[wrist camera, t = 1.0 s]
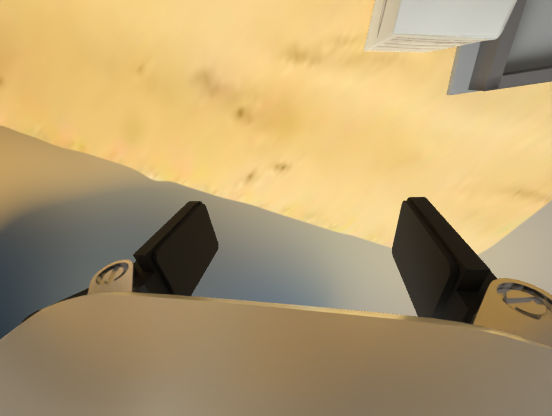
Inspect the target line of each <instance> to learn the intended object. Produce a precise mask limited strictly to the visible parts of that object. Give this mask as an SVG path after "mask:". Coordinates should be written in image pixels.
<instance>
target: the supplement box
mask: <svg viewBox="0 0 552 416" xmlns="http://www.w3.org/2000/svg"><path fill="white" fill-rule="evenodd" d="M516 2H517V0H375V3H374V8H373V12H372V17H371V21H370V26H369V30H368V35H367V39H366V43H365V47H364V51H384V52H418V53H426V52H431V51H437V50H442V49H447V48H452V47H456V46H460V45H465V44H470V43H475V42H480V41H487V40H495V39H497V38H498V37H499V36H500V35H501V33H502V31H503V29H504V27H505V25H506V23H507V21H508V19H509V17H510V14H511V12H512V10H513V8H514V6H515V4H516Z"/></svg>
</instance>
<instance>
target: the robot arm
mask: <svg viewBox="0 0 552 416" xmlns="http://www.w3.org/2000/svg"><path fill="white" fill-rule="evenodd" d="M217 250H218V241H217V238H216V235H215V232H214V230H213V227H212V224H211V220H210V217H209V214H208V211H207V208H206V206H205V204H203V203H202V202H200V201H189V202H188V203H187V204H186V205H185V206H184V207H183V208H181V209H180V210H179V211H178V212H177V213H176V214H175V215H174V216H173V217H172V218H171V219H170V220H169V221H168V222H167V223H166V224H165V225H164V226H163V227H162V228H161V229H160V230H158V231H157V232H156V233H155V234H154V235H153V236H152V237H151V238H150V239H149V240H148V241H147V242H146V243H145V244H144V245H143V246H142V247H141V248H140V249H139V250H138V251H136V252H135V254H133V256H134V257H135V259H136V262H135V263H134V264H133V262H132V261H130V260H120V261H117V262H114V263H112V264H109V265H107V266H106V267H104V268H102V269H101V270H100V271H99V272H98V273H96V275H95V276H94V277H93V278H92V280H91V283H90V286H89V288H88V289H86V290H83V291H81V292H79V293H77V294H74V295H72V296H70V297H68V298H66V299H63V300H61V301H59V302H57V303H55V304H52V305H50V306H48V307H46V308H44V309H42V310H38V311H36V312H34V313H32V314H31V315H29V316H28V317H27V318H25V319H24V320H23V321H22V323H21V324H20V325H19V326H18V327H16V328H15V329H14V330H12V331H11V332H10V333H9V334H7V335H6V336H5V337H3V338H2V339H1V340H0V416H552V295H551V294H549V293H547V292H546V291H544V290H542V289H540V288H538V287H536V286H534V285H531V284H529V283H525V282H523V281H520V280H514V279H508V278H499V279H497V278H496V277H495V276H494V274H493V273H492V272H491V271H490V269H489V268H488V267H487V265H486V264H485V263H484V262H483V261H482V260H481V259H480V258H479V257H478V255H477V254H476V253H475V252H474V251H473V250H472V249H471V248H470V246H469V245H468V244H467V243H466V242H465V241H464V240H463V239H462V238H461V236H460V235H459V234H458V233H457V232H456V231H455V230H454V229H453V227H452V226H451V225H450V224H449V223H448V222H447V221H446V220H445V219H444V217H443V216H442V215H441V214H440V213H439V212H438V211H437V210H436V208H435V207H434V206H433V205H432V204H431V203H430V202H429V201H428V200H427V198H425V197H409V198H408V199H407V201H403V202H402V206H401V210H400V215H399V219H398V224H397V229H396V233H395V238H394V242H393V247H392V254H393V258H394V260H395V262H396V265H397V267H398V270H399V272H400V274H401V277H402V279H403V282H404V284H405V286H406V289H407V291H408V294H409V295H410V298H411V301H412V303H413V305H414V308H415V310H416V313H417V315H418V317H416V316H408V315H398V314H389V313H379V312H368V311H357V310H346V309H335V308H324V307H312V306H302V305H290V304H279V303H267V302H255V301H244V300H231V299H220V298H207V297H194V296H191V295H192V293H193V291H194V289H195V288H196V286H197V284H198V283H199V281H200V279H201V278H202V276H203V274H204V272H205V271H206V269H207V267H208V266H209V264H210V262H211V260H212V259H213V257H214V255H215V254H216V252H217Z"/></svg>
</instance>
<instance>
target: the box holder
mask: <svg viewBox="0 0 552 416" xmlns="http://www.w3.org/2000/svg"><path fill="white" fill-rule="evenodd" d="M551 81H552V0H517V2H516V4H515V6H514V8H513V10H512V12H511V14H510V17H509V19H508V21H507V23H506V25H505V27H504V29H503V31H502V33H501V35H500V36H499V37H498V38H497V39H495V40H487V41H480V42H475V43H470V44H465V45H460V46H457V50H456V54H455V59H454V63H453V68H452V72H451V77H450V82H449V86H448V91H447V95H454V94H461V93H468V92H475V91H488V90H495V89H502V88H509V87H516V86H523V85H530V84H537V83H544V82H551Z"/></svg>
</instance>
